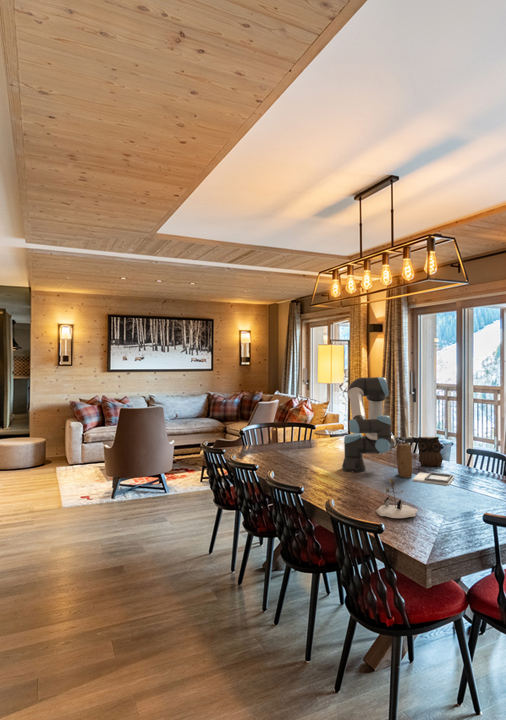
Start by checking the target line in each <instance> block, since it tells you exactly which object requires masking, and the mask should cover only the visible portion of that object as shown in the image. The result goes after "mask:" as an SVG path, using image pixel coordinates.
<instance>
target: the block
mask: <svg viewBox="0 0 506 720" xmlns="http://www.w3.org/2000/svg"><path fill="white" fill-rule="evenodd" d="M412 457H413V456H412V446H411V444H410V443H405V444H402V443H400V444H397V446H396V465H397V474H398V476H399V477H400V478H406V479H407V478H411V477H412V476H413V458H412Z"/></svg>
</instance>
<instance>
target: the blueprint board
mask: <svg viewBox="0 0 506 720" xmlns="http://www.w3.org/2000/svg"><path fill="white" fill-rule="evenodd" d="M411 480H412V482H418V483H427V484H435V485H443V486H450V484H451V483H452V482H453V480H455V476H453V474H451V473H450V474H448V473H441V472H439V473H438V472H434V471H433V472H432V471H431V472H429V473H427V472H418V473H417V474H416V475H415V476H414V477H413V478H412V479H411Z"/></svg>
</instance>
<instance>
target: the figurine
mask: <svg viewBox="0 0 506 720" xmlns="http://www.w3.org/2000/svg"><path fill="white" fill-rule="evenodd" d="M388 482H389V483H390V487H391V488H389V487H385V493H393V497H394V498H393V499H394V501H396V497H395V496H396V494H400V493H403V492H404V491H403V490H401V491H396V492H395V479H393V478H389V479H388ZM389 498H390V497H389V496H388V497H386V498H385V499H384V502H383V503H384V504H382V505H380V506H379V507H378V509H376V513H377V514H378V515H379V516H380V517H387V518H392V519H405V518H411V517H412V518H413V517H416V516H417V513H418V509H417V508H414V507H412V506H409V505H406V504H403V503H402V499H399V500H398V502H394V504H393V505H392V504H390V503H391V502H390V499H389Z"/></svg>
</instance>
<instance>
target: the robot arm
mask: <svg viewBox="0 0 506 720" xmlns="http://www.w3.org/2000/svg"><path fill="white" fill-rule="evenodd" d="M388 387H389V385H388V382H387V379H386V378H385V377H379V376H376V377H373V376H372V377H359V378H356V379H354V380H353V381H351V383H350V384H349V385H348V388H347V394H346V395H347V397H348V399H349V403H350V411H351V412H350V413H351V418H352V419H349V423H348V424H349V432H350V433H349V434H347V435H344V438H343V444H344V447H343V448H344V458H343V461H342V464H341V469H342V470H343V469H344V470H347V471H346V472H349V471H353V472H352V473H360V472H361V471H362V472H365V471H366V467H367V466H366V465H365V461H364V458H363V454H365V455H367V454H368V455H369V454H370V455H372V454H374V455H379V454H384V453H388V452H389V451H391V450H392V449H394V448H397V445H398V444H400V443H402V444H405V443H408V444H411V443H414V442H415V438H414V437H412V434H411V435H409V436H407V437H400V436H397V437H396V435H393V434H392V420H391V419H392V418H391V416H389V415H384V414H383V413H384V412H383V407H384V401H385V400H386V399H387V398H386V397H389V388H388ZM364 397H366V400H368V418H367V417H366V416H367V415H366V411H365V404H364V399H363V398H364ZM363 434H365V435H363ZM344 470H343V471H344Z"/></svg>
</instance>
